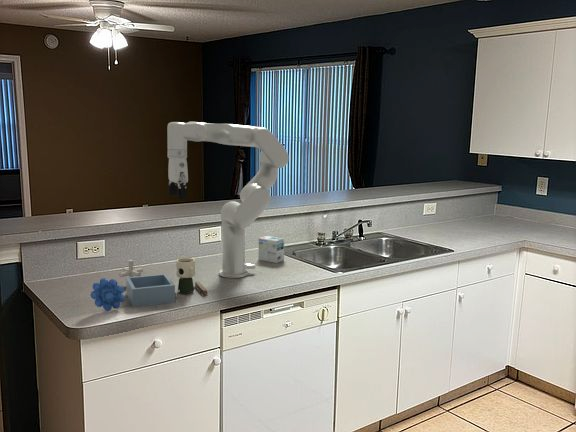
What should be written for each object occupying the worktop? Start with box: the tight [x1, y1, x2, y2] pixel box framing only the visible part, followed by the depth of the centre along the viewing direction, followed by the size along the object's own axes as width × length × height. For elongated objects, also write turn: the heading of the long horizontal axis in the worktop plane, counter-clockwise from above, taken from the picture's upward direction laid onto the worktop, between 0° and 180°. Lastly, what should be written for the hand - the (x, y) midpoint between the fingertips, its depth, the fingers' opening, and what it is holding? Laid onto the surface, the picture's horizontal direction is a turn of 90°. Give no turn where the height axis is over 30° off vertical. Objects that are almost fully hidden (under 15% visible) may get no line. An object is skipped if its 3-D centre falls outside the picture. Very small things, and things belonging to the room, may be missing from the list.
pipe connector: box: [118, 259, 144, 278], centre depth 230 cm, size 10×10×10 cm
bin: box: [125, 273, 176, 308], centre depth 215 cm, size 15×15×7 cm
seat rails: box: [175, 280, 208, 300], centre depth 223 cm, size 14×12×2 cm
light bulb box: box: [257, 235, 285, 264], centre depth 272 cm, size 11×7×11 cm, turn 58°
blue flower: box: [90, 277, 126, 312], centre depth 200 cm, size 12×7×12 cm, turn 119°
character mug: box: [175, 257, 196, 294], centre depth 222 cm, size 11×7×13 cm, turn 38°
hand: (177, 196), depth 231 cm, fingers open, 9 cm apart
